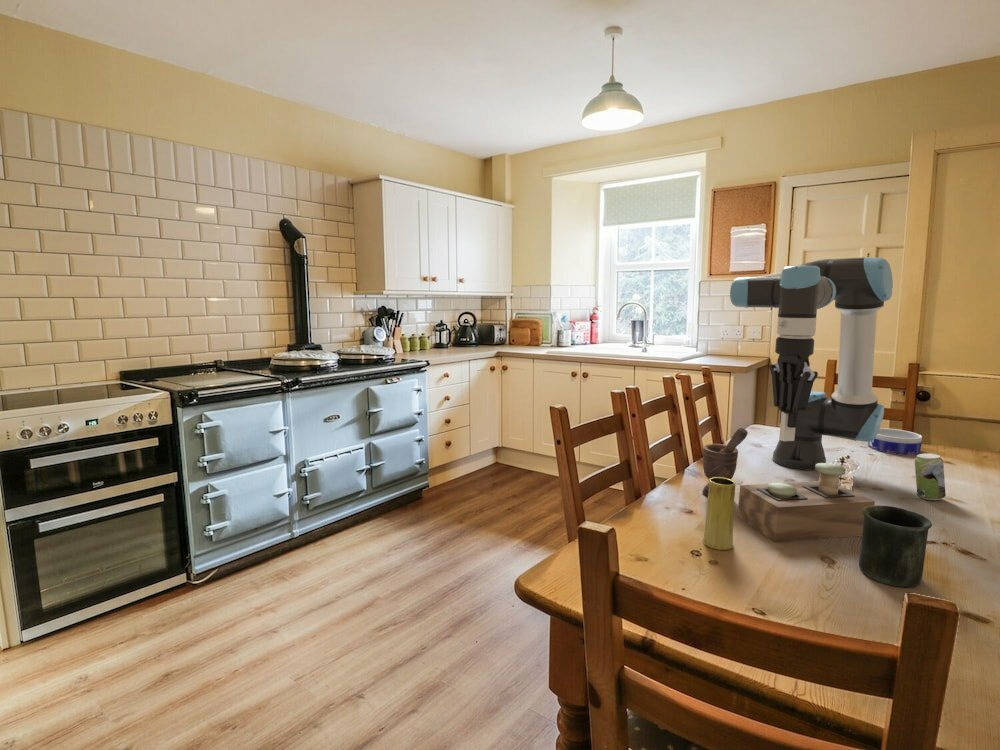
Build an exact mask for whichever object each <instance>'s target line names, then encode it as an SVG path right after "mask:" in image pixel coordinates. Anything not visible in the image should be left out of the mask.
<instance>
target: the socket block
mask: <svg viewBox="0 0 1000 750" xmlns="http://www.w3.org/2000/svg"><path fill="white" fill-rule="evenodd" d="M783 483H784V484H788V485H791V486H794V487H796V488H797V494H796V495H794V496H791V497H788V498H778V497H776V496H774V495H772V493H771V492H769V491H768V484H769V483H757V484H755V483H754V484H741V485H739V496H738V507H737V508H738V509H737V510H738V511H737V517H738V518H739V519H740V520H742V521H744V522H745V523H746V524H747V525H749V526H751V527H752V528H753V529H755V530H756V531H758V532H759V531H760V533H761V534H762V533H763V535H764V536H765V537H767V538H768V539H770V540H771V541H772V542H774V543H782V542H783V541H784V542H795V541H796V540H798V541H808V540H809V541H810V540H823V539H837V538H839V539H840V538H847V537H849V538H850V537H862V532H863V523H864V515H863V513H862V510H863V509H864V508H865V507H868V506H875V505H876V500H873V499H870V498H869V497H866V496H864V495H862V494H859V493H857V492H854V491H853V490H851V489H848V488H846V487H844V486H842V485H840V484H839V487H838V495H825V494H823V493H821V492H819V491H818V486H819V480H814V481H813V480H812V481H796V482H795V481H793V482H783ZM784 542H783V543H784ZM796 542H797V541H796Z"/></svg>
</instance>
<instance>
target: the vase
mask: <svg viewBox="0 0 1000 750" xmlns="http://www.w3.org/2000/svg"><path fill="white" fill-rule="evenodd" d="M708 483H709V487H708V496H707V501H706V511H705V512H706V514H705V523H704V533H703V539H702V543H703V544H704V545H705V546H706V547H708V548H711V549H713V550H717V551H729V550H731V549H733V547H734V539H733V538H734V534H733V533H734V509H735V496H736V495H735V494H736V482H735V481H734V480H733V479H728V478H723V477H713V478H710V479H708Z"/></svg>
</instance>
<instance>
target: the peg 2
mask: <svg viewBox="0 0 1000 750" xmlns="http://www.w3.org/2000/svg"><path fill="white" fill-rule="evenodd" d="M815 471H816V472H818V473H819V475H818V476H819V478H818V481H819V486H818V491H819V492H821V493H823V494H825V495H838V487H839V485H840V476H844V475H845V474H846V468H845V467H844V466H841V465H839V464H835V463H828V462H826V463H818V464H816V466H815Z"/></svg>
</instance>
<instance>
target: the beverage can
mask: <svg viewBox="0 0 1000 750" xmlns="http://www.w3.org/2000/svg"><path fill="white" fill-rule="evenodd" d="M914 467H915V468H914V470H915V483H916V495H917V496H919V497H920V498H921V499H923V500H927V501H940V500H943V499H944V498H945V497H946V494H947V493H946V482H945V469H944V467H945V465H944V460H943V459H942V458H941V455H939V454H936V453H928V452H927V453H925V452H923V453H919V454H917V455H916V457H915V458H914Z"/></svg>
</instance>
